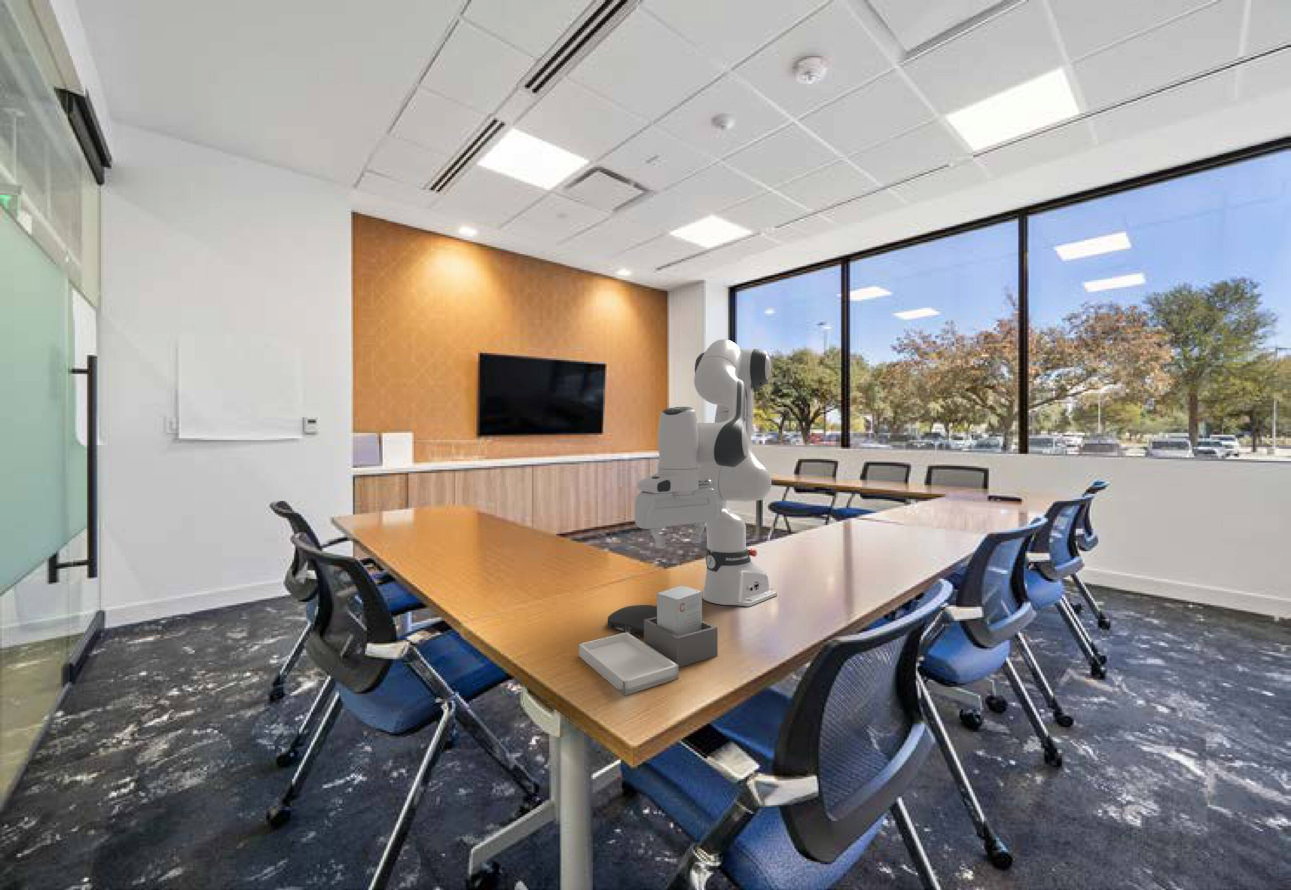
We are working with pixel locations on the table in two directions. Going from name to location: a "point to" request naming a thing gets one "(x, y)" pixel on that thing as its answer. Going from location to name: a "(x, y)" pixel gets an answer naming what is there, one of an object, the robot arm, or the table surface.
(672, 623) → the small box
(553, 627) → the table surface
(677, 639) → the box
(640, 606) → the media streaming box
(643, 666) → the tray
